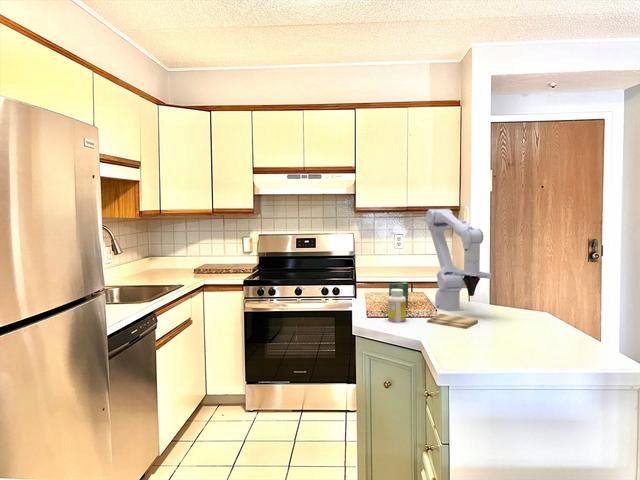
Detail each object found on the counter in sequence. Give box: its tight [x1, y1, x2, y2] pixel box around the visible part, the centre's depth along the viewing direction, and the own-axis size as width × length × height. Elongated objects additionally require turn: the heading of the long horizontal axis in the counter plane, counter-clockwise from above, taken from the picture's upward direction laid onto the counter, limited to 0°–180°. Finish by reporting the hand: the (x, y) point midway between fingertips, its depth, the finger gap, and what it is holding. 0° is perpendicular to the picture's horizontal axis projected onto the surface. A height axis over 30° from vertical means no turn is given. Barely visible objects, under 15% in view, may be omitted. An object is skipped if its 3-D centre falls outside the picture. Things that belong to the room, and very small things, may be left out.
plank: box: [430, 313, 479, 328], centre depth 179 cm, size 15×8×1 cm, turn 51°
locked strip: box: [426, 318, 470, 330], centre depth 175 cm, size 15×2×1 cm, turn 51°
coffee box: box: [388, 282, 409, 309], centre depth 195 cm, size 8×3×13 cm, turn 117°
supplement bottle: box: [387, 289, 407, 324], centre depth 182 cm, size 7×7×13 cm
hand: (471, 295), depth 186 cm, fingers closed
